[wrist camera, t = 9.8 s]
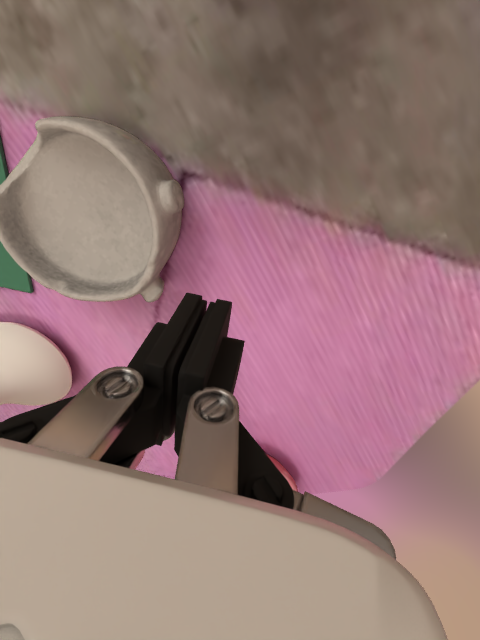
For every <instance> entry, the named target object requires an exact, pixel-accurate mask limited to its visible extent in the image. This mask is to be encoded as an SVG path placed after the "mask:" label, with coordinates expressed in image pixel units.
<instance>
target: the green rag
mask: <svg viewBox="0 0 480 640" xmlns="http://www.w3.org/2000/svg"><path fill="white" fill-rule="evenodd" d="M8 176H9V174H8V169H7V165H6V160H5V155H4V151H3V146H2V142H1V137H0V185H1V184H2V183H3V182H4V181H5V180H6V179H7V177H8ZM0 287H5V288H9V289H14V290H19V291H23V292H28V293H32V292H34V291H33V286H32V281H31V277H30V275H29V274H28V273H27V272H26V271H25V270H23V269H22V268H21V267H20V266H19V265H18V264H17V262H16V261H15V260H14V259H13V258H12V257H11V255H10V254H9V253H8V252H7V250H6V249H5V247H4V246H3V244H2V243H1V241H0Z"/></svg>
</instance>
